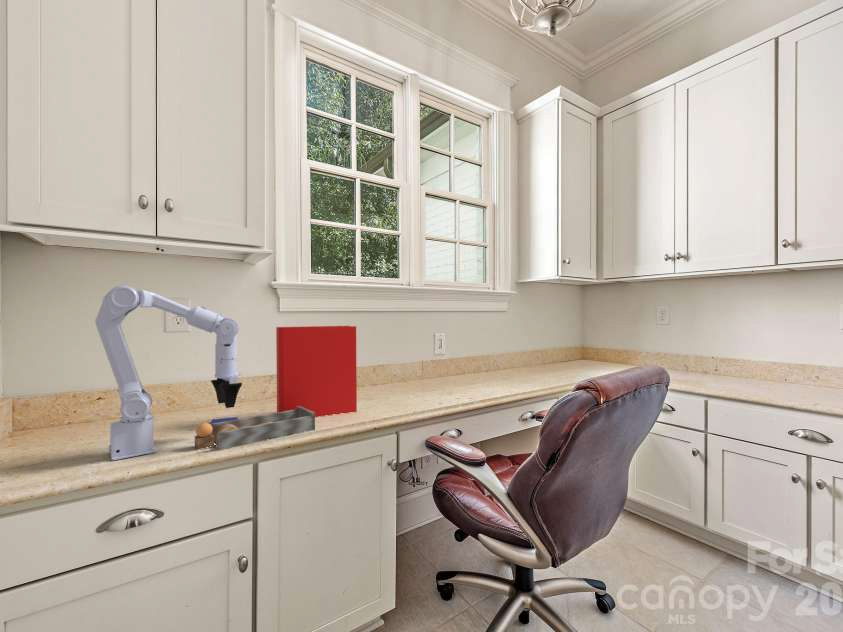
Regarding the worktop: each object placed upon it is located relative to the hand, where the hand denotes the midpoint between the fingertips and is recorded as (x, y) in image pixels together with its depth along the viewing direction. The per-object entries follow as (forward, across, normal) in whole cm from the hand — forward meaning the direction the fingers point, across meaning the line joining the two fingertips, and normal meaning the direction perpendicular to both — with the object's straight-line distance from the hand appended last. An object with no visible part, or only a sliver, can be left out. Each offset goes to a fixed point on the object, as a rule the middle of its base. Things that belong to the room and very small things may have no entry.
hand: (226, 405), depth 115 cm
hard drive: (+11, +15, -3) cm, 19 cm away
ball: (+5, -4, +6) cm, 9 cm away
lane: (+14, -4, -10) cm, 17 cm away
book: (+10, +8, -33) cm, 35 cm away
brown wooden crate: (+10, -4, +6) cm, 12 cm away
